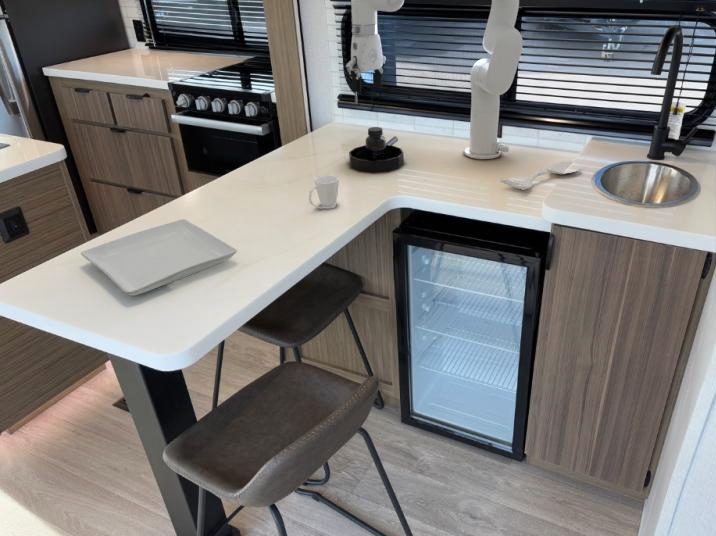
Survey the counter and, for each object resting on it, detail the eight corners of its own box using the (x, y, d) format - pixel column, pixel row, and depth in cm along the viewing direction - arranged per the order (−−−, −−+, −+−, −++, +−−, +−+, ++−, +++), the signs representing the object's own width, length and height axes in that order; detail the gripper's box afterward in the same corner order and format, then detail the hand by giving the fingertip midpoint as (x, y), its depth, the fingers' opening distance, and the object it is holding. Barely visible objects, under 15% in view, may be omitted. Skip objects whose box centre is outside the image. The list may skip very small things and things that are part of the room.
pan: (418, 150, 218) (418, 138, 216) (391, 175, 196) (391, 162, 194) (373, 145, 223) (372, 134, 221) (341, 169, 201) (340, 157, 199)
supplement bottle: (364, 161, 208) (362, 127, 201) (383, 159, 209) (382, 125, 203) (369, 168, 202) (367, 132, 196) (388, 165, 204) (388, 130, 197)
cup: (345, 205, 175) (343, 179, 170) (318, 215, 169) (315, 188, 164) (330, 199, 179) (328, 173, 175) (303, 209, 173) (300, 182, 169)
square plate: (82, 265, 146) (78, 250, 144) (187, 230, 162) (184, 216, 160) (130, 306, 129) (125, 290, 127) (241, 262, 145) (238, 248, 143)
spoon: (498, 189, 184) (499, 178, 182) (563, 165, 201) (564, 155, 199) (521, 197, 178) (522, 186, 176) (586, 172, 195) (587, 162, 193)
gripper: (354, 34, 174) (357, 95, 183) (392, 28, 185) (394, 85, 194) (336, 32, 178) (339, 92, 187) (374, 26, 189) (376, 82, 198)
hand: (367, 89), depth 191 cm, fingers open, 9 cm apart
